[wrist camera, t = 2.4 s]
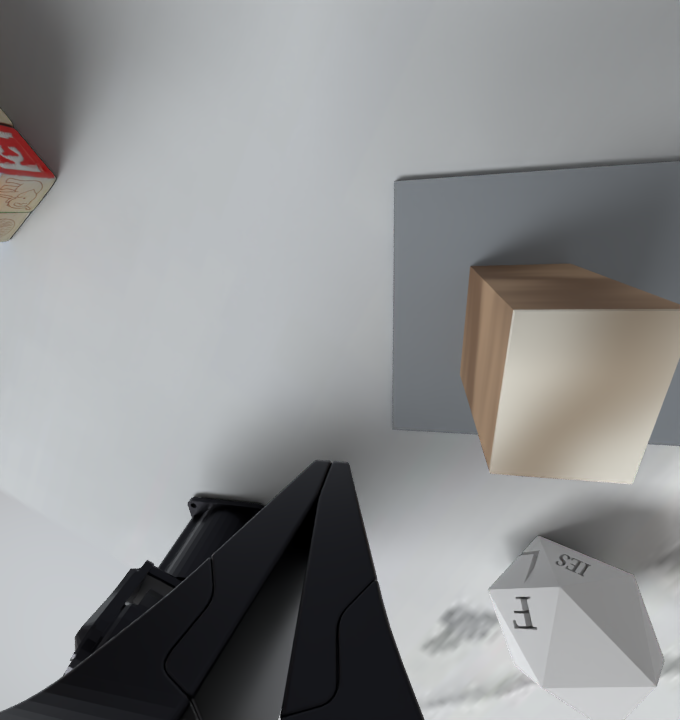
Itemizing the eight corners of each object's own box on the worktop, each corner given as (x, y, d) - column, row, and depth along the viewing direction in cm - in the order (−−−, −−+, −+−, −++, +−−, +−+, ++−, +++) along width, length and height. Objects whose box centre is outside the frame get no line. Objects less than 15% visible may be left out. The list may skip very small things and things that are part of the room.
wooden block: (459, 374, 20) (490, 473, 12) (470, 266, 17) (514, 311, 10) (546, 376, 19) (632, 484, 12) (570, 263, 16) (697, 311, 9)
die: (608, 503, 23) (560, 604, 16) (711, 642, 20) (700, 820, 14) (505, 524, 28) (441, 604, 22) (576, 633, 26) (526, 756, 20)
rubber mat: (392, 426, 22) (392, 429, 22) (394, 181, 17) (394, 181, 16) (704, 444, 19) (708, 447, 19) (837, 149, 13) (846, 148, 13)
